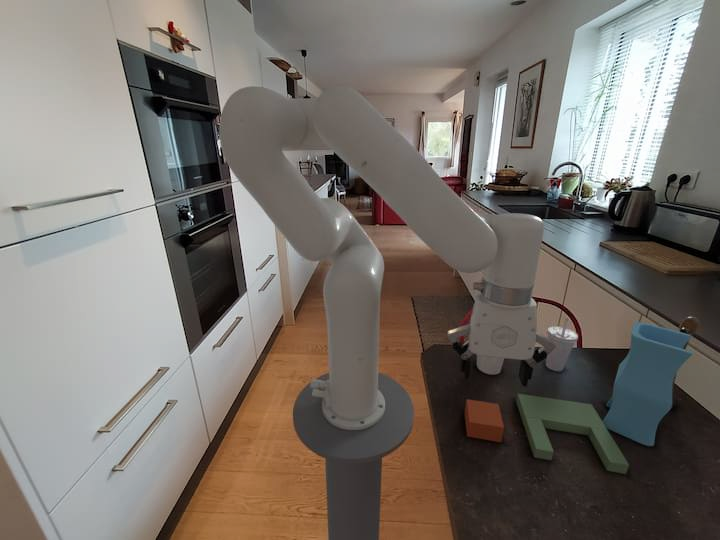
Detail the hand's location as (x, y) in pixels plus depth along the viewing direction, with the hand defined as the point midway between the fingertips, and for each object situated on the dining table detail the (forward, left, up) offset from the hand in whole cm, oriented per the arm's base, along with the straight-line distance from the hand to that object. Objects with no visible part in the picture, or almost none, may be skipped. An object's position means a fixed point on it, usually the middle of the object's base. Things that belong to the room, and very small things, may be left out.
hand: (493, 377), depth 59 cm
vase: (+27, +7, -12) cm, 31 cm away
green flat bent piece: (+14, +2, -12) cm, 19 cm away
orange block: (-1, 0, -12) cm, 12 cm away
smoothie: (+19, +24, -12) cm, 33 cm away
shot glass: (+3, +20, -12) cm, 23 cm away
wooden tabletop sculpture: (+37, +16, -12) cm, 42 cm away
